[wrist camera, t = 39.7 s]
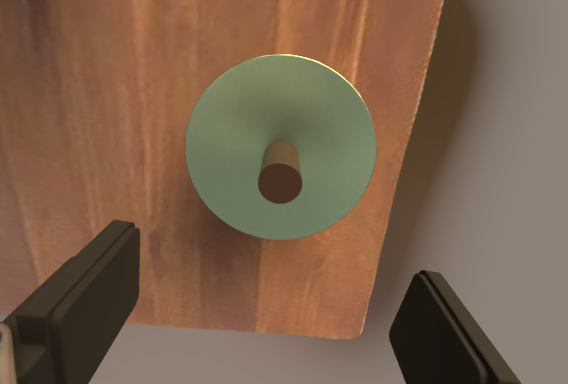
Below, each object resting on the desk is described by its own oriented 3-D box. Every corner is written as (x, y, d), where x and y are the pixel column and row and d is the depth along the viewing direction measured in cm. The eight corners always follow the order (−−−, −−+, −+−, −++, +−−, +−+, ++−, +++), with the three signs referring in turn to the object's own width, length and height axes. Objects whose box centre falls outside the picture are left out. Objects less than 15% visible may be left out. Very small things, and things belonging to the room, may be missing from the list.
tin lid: (196, 34, 22) (164, 24, 16) (398, 77, 23) (439, 83, 17) (182, 218, 28) (154, 262, 22) (344, 245, 29) (361, 295, 23)
